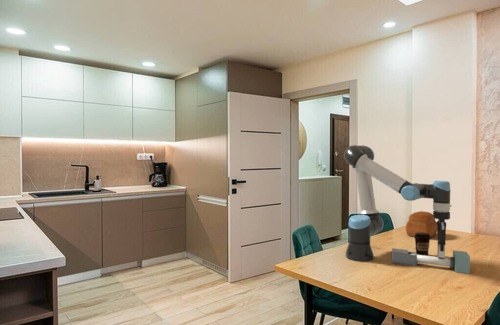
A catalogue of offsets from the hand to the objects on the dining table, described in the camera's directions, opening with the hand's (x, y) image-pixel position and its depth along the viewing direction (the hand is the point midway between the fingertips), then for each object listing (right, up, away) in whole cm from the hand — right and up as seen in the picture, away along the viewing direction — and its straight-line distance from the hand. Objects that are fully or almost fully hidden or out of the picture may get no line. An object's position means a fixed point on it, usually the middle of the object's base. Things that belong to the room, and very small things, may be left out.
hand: (441, 256), depth 166 cm
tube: (-3, -6, +1) cm, 7 cm away
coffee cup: (+1, -6, +20) cm, 21 cm away
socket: (+8, -6, -4) cm, 11 cm away
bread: (+26, -5, +68) cm, 73 cm away
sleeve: (-16, -6, +7) cm, 18 cm away
